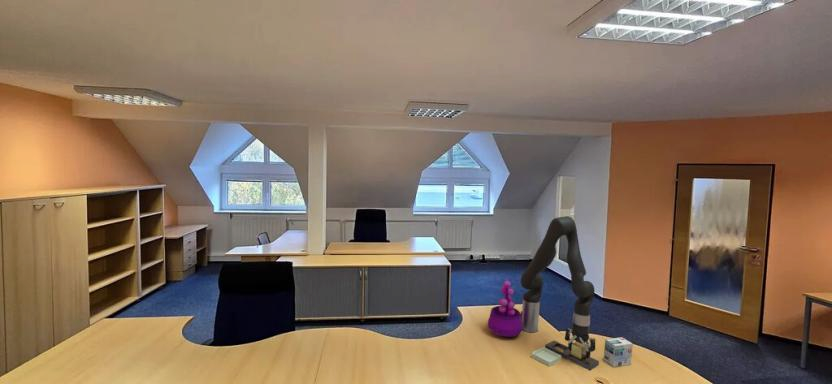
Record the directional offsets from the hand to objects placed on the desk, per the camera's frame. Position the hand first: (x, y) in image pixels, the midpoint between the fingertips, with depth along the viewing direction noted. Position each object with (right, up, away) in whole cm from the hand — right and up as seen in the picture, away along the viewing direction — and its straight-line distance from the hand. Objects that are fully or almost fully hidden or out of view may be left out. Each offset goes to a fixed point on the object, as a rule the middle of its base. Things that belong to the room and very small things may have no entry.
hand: (578, 353), depth 180 cm
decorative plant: (-30, 0, +26) cm, 40 cm away
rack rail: (-3, -3, +4) cm, 5 cm away
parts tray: (-16, -3, +1) cm, 16 cm away
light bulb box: (+18, -4, -1) cm, 19 cm away
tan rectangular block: (0, -3, 0) cm, 3 cm away
